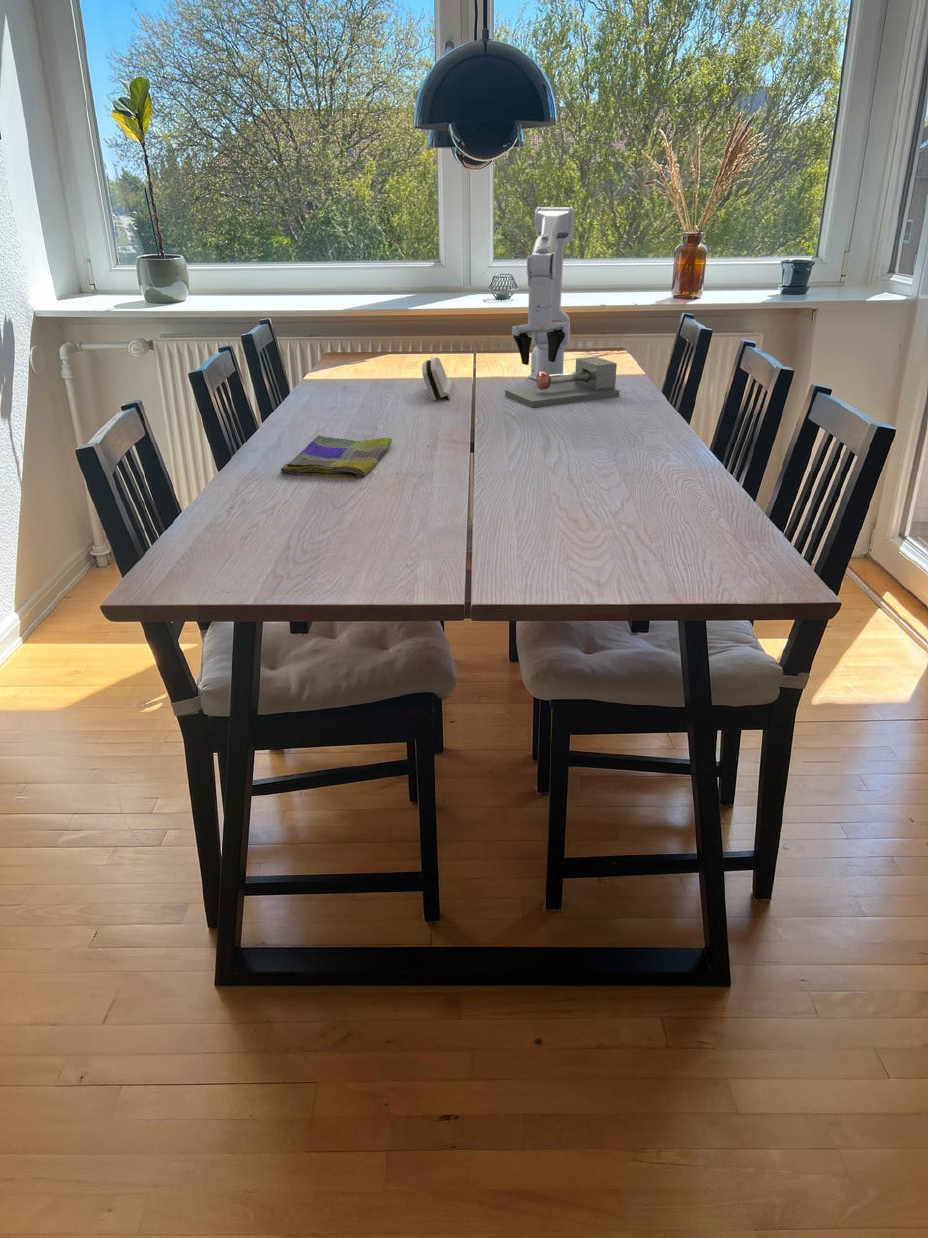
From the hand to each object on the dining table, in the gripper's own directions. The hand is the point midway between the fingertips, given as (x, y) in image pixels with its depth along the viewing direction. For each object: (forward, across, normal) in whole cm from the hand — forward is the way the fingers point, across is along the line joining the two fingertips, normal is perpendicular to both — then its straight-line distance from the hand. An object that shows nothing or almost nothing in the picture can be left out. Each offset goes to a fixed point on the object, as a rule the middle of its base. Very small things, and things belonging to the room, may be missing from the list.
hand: (538, 362), depth 232 cm
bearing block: (+8, +18, +2) cm, 20 cm away
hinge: (+10, -18, +20) cm, 29 cm away
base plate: (+10, +8, +2) cm, 13 cm away
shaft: (+7, +9, +2) cm, 12 cm away
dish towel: (+10, -62, -24) cm, 67 cm away
